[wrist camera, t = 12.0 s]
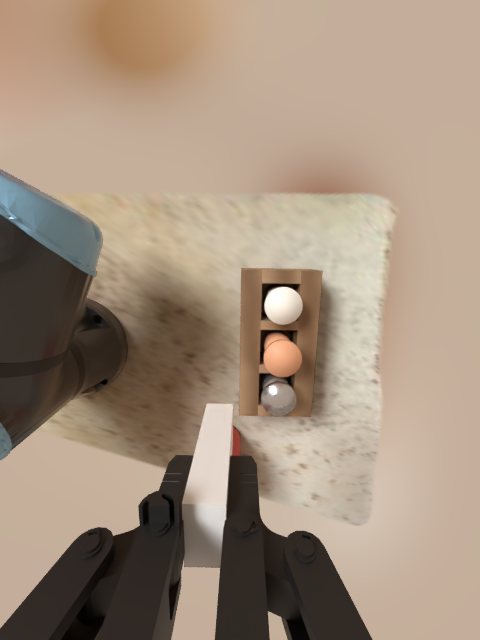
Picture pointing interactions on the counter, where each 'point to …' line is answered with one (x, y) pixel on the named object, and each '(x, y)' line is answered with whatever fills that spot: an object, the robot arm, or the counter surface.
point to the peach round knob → (281, 354)
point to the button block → (259, 325)
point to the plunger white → (282, 304)
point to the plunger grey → (277, 395)
